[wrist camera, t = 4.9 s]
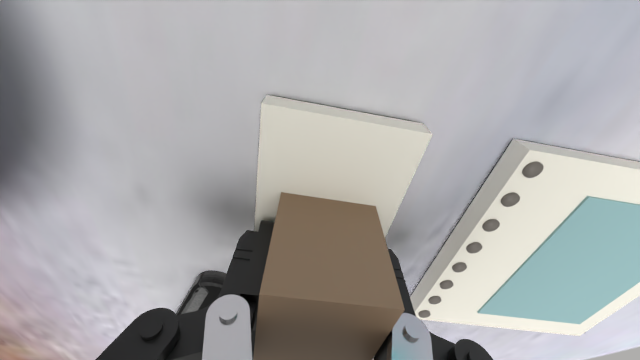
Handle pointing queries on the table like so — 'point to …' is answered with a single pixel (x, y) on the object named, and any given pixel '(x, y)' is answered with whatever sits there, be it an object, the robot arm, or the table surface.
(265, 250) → the robot arm
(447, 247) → the ticket pad
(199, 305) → the phone
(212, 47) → the table surface
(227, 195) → the table surface
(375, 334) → the brown cream block
